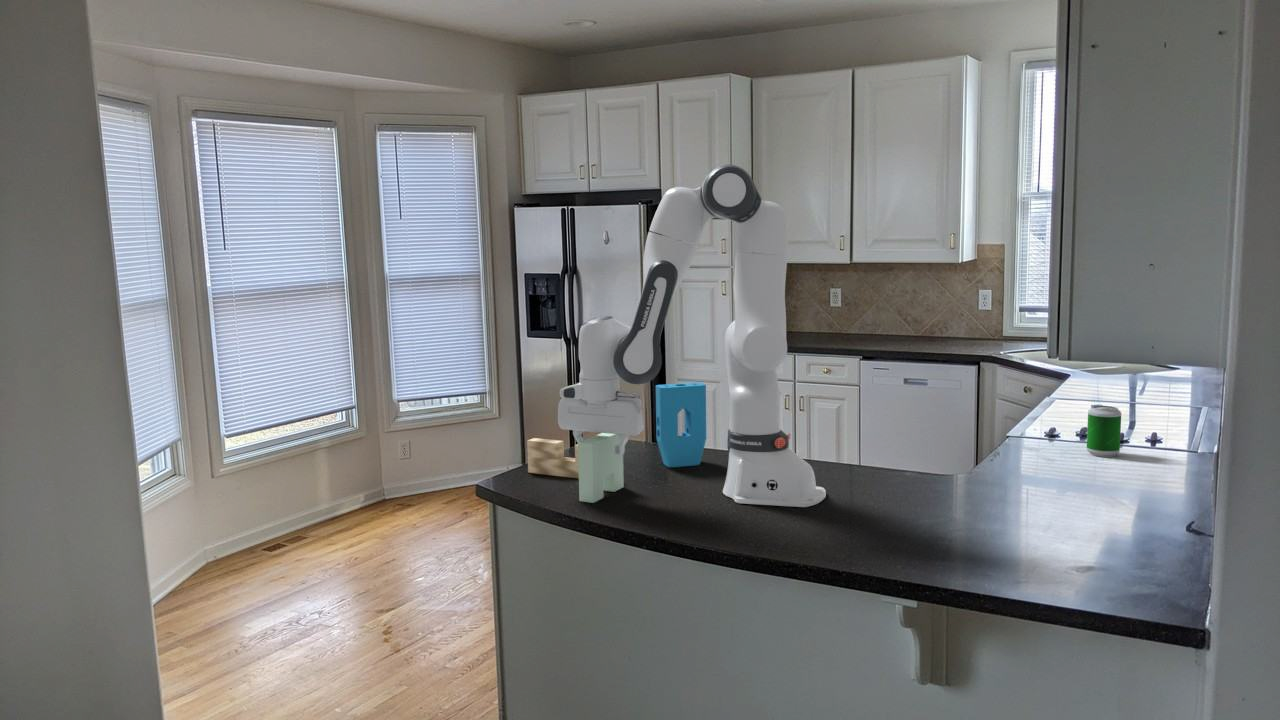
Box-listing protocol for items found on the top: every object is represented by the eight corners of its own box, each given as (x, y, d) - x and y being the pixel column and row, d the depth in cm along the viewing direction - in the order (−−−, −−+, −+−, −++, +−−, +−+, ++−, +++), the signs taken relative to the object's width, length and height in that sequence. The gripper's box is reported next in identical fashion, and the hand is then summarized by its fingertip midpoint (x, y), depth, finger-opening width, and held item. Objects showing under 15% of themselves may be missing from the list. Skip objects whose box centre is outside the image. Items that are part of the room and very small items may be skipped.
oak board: (613, 478, 226) (612, 445, 224) (606, 481, 223) (606, 448, 222) (534, 469, 235) (533, 438, 234) (528, 472, 233) (527, 440, 232)
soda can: (1123, 458, 236) (1125, 410, 234) (1090, 457, 238) (1092, 410, 236) (1114, 451, 243) (1116, 405, 242) (1082, 450, 245) (1085, 404, 243)
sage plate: (623, 486, 218) (622, 431, 216) (593, 502, 206) (591, 444, 204) (610, 485, 220) (609, 430, 218) (579, 501, 207) (577, 442, 206)
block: (662, 468, 235) (660, 388, 232) (655, 463, 239) (654, 385, 237) (707, 464, 238) (707, 385, 235) (700, 459, 243) (700, 382, 240)
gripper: (648, 390, 208) (649, 452, 210) (567, 385, 217) (569, 444, 219) (635, 395, 202) (636, 459, 204) (553, 389, 211) (555, 450, 213)
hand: (601, 451), depth 211 cm, fingers open, 8 cm apart
